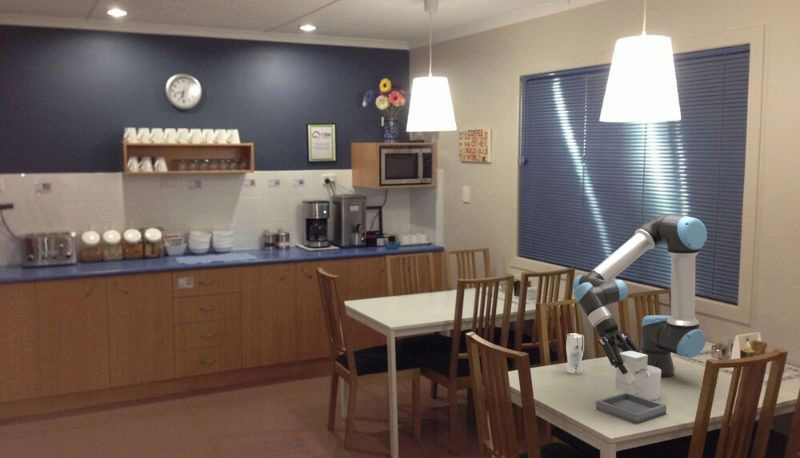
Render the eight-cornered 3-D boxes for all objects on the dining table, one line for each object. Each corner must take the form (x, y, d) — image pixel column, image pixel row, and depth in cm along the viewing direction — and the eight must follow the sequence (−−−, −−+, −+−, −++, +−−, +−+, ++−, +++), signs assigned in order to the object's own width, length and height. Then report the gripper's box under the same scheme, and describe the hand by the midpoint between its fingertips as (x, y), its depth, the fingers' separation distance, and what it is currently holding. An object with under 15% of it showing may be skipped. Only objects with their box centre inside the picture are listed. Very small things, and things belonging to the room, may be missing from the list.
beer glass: (583, 375, 289) (584, 338, 288) (565, 373, 291) (566, 337, 289) (582, 369, 296) (584, 333, 295) (564, 368, 298) (566, 332, 296)
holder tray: (625, 400, 261) (626, 392, 260) (666, 413, 248) (666, 405, 247) (595, 409, 251) (596, 400, 251) (636, 423, 238) (636, 415, 238)
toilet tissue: (653, 390, 272) (655, 364, 271) (665, 402, 260) (667, 374, 259) (625, 390, 272) (626, 364, 271) (635, 401, 260) (637, 374, 259)
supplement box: (632, 394, 243) (635, 358, 242) (614, 388, 249) (616, 352, 248) (646, 391, 248) (648, 354, 246) (628, 385, 254) (630, 349, 252)
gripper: (614, 325, 265) (650, 380, 254) (578, 332, 253) (614, 390, 242) (628, 313, 260) (665, 369, 249) (591, 320, 248) (628, 378, 237)
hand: (639, 379), depth 245 cm, fingers closed on supplement box, 7 cm apart
